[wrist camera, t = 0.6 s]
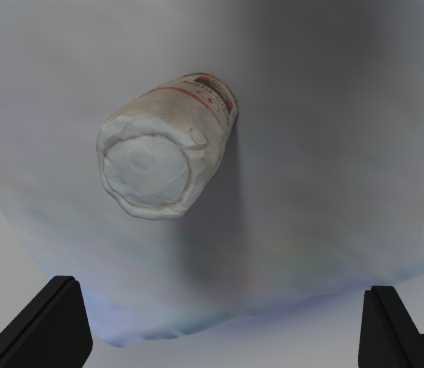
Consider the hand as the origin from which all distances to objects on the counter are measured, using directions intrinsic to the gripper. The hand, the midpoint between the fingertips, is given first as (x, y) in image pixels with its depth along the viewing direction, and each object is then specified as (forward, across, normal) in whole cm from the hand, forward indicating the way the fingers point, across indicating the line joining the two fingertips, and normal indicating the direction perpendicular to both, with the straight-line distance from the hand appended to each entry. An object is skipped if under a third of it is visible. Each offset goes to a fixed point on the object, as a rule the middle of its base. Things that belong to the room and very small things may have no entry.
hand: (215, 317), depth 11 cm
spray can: (+29, +5, -2) cm, 30 cm away
